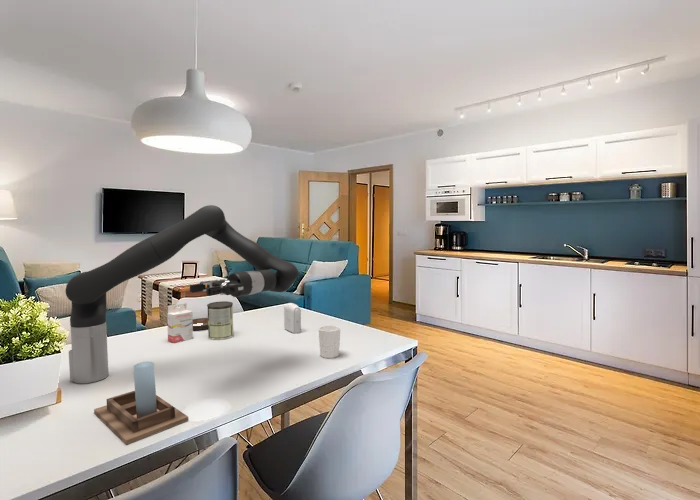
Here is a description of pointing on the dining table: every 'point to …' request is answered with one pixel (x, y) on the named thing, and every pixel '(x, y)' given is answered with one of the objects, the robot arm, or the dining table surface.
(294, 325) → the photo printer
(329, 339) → the white cup
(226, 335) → the coffee can
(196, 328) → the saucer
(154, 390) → the slate peg
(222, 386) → the dining table surface
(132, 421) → the slot rack
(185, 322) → the ink cartridge box
